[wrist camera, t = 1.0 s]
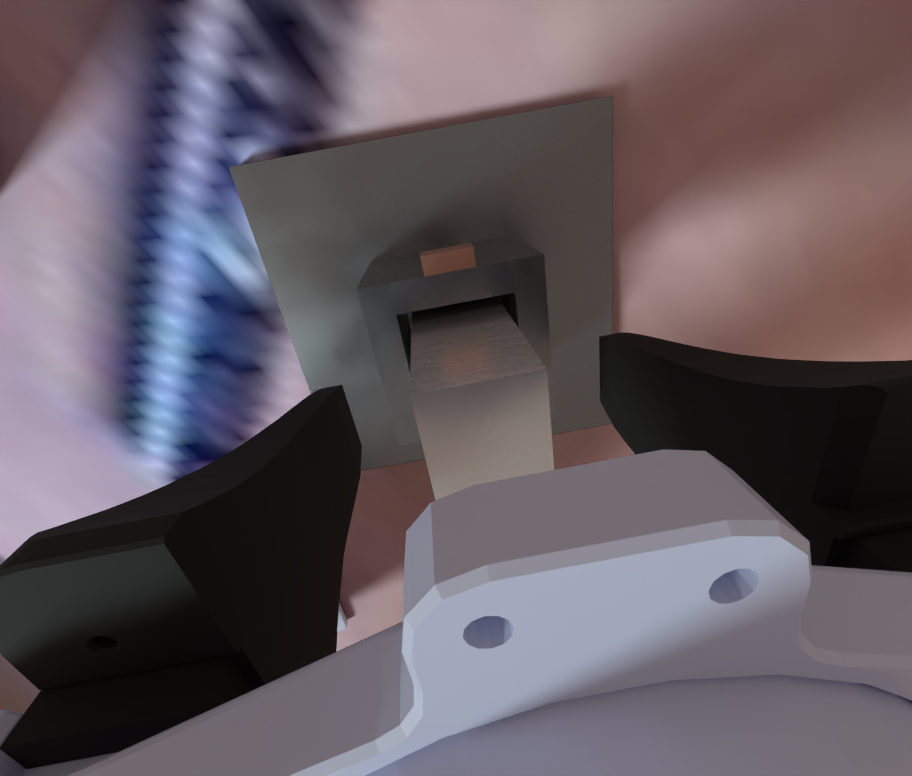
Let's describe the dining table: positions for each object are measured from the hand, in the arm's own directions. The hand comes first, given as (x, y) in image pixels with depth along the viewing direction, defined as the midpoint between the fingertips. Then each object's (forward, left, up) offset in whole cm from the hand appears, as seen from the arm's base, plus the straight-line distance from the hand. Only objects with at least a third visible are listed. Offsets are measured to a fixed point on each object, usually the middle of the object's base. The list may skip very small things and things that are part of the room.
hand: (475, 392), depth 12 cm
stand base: (0, 0, -8) cm, 8 cm away
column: (0, 0, -8) cm, 8 cm away
